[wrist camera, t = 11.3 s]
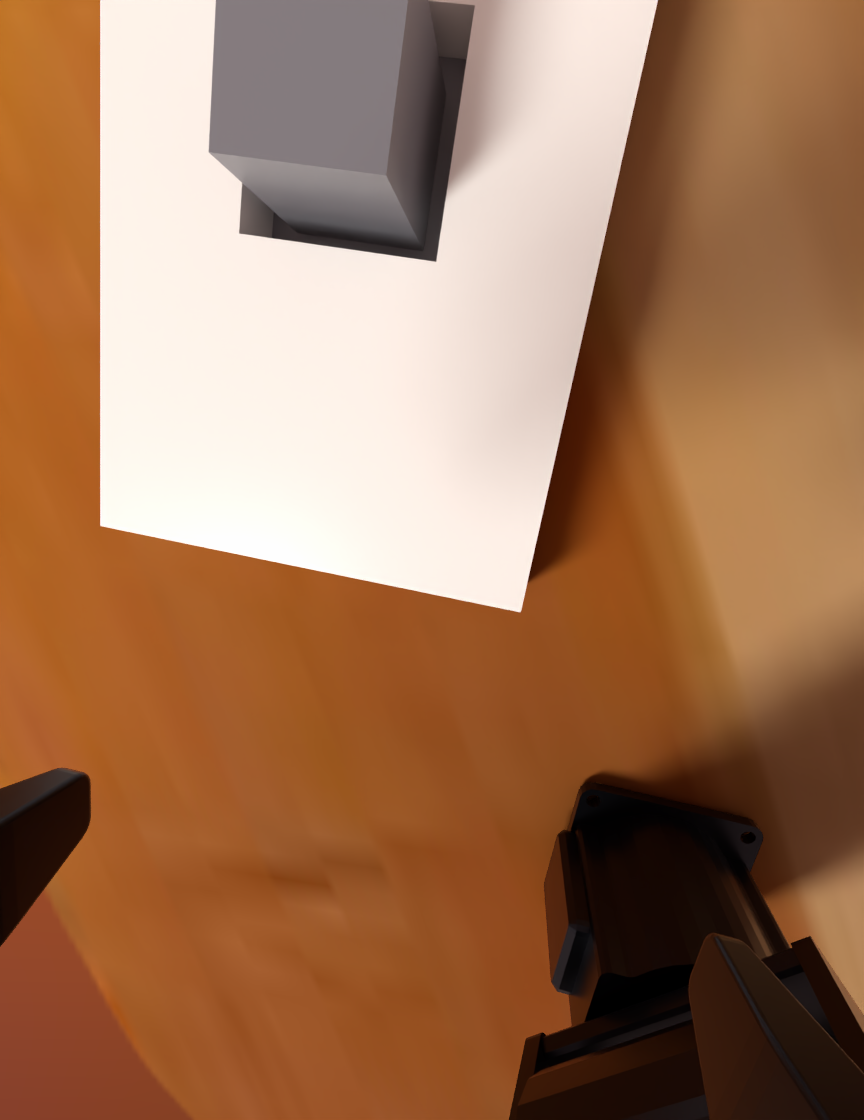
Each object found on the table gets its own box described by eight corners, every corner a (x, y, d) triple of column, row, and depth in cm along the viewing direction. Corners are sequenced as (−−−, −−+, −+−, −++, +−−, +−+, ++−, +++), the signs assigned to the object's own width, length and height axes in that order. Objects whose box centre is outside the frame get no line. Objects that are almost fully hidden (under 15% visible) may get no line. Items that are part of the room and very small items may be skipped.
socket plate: (661, -57, 14) (693, -158, 11) (519, 588, 19) (520, 612, 16) (165, -98, 15) (100, -196, 13) (150, 513, 20) (100, 525, 18)
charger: (446, 94, 15) (415, -64, 10) (423, 251, 16) (386, 175, 11) (310, 78, 15) (219, -81, 11) (297, 233, 16) (208, 152, 12)
